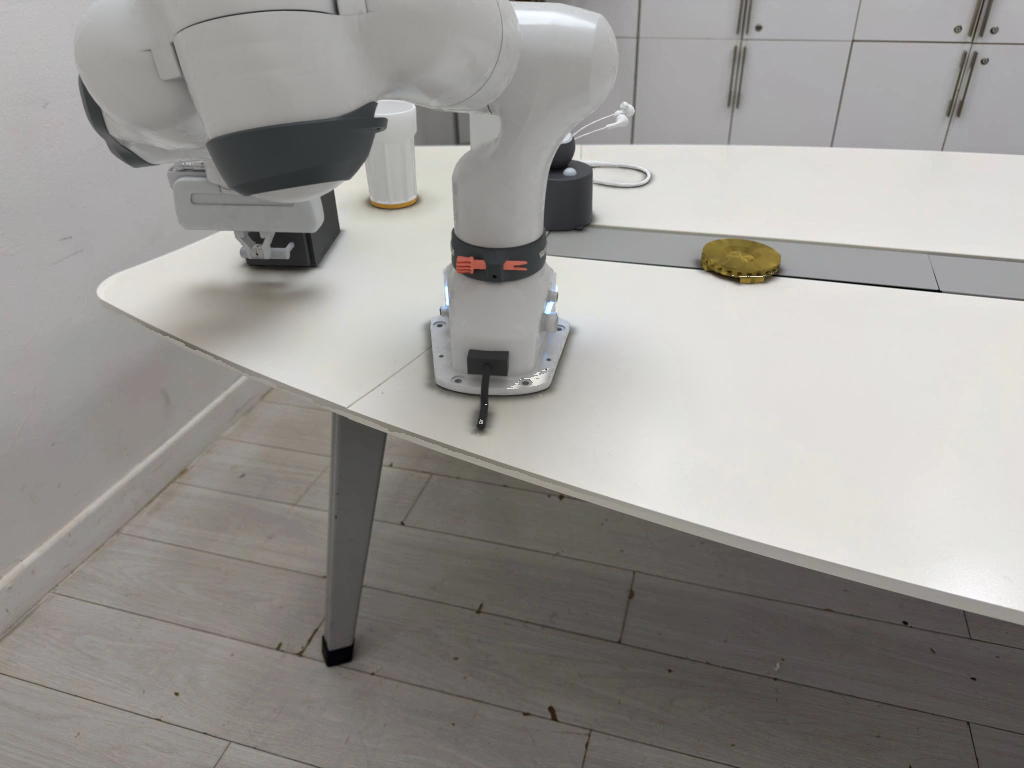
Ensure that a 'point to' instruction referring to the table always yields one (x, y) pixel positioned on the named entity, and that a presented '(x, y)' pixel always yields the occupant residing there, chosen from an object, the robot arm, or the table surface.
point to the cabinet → (323, 231)
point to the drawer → (282, 249)
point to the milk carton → (483, 128)
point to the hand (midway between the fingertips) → (260, 257)
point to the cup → (393, 157)
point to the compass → (740, 259)
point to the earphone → (620, 121)
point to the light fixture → (568, 190)
